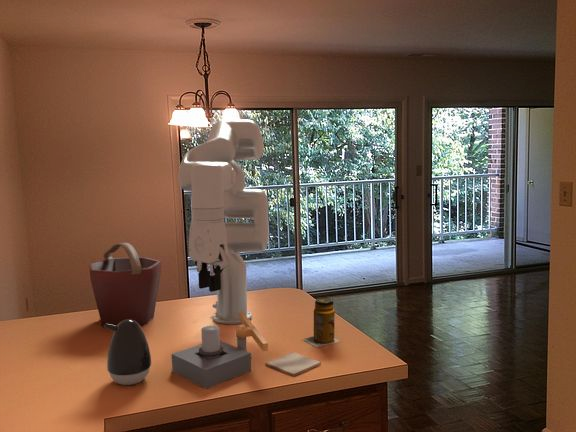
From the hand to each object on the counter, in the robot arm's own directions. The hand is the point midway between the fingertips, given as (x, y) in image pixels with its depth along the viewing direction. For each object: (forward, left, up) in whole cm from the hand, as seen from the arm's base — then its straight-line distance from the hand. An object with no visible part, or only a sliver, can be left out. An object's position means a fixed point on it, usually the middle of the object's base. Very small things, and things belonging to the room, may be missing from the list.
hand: (209, 288), depth 130 cm
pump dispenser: (-10, -17, -22) cm, 29 cm away
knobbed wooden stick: (0, +11, -15) cm, 19 cm away
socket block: (0, +3, -21) cm, 21 cm away
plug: (0, 0, -21) cm, 21 cm away
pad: (+12, +17, -21) cm, 30 cm away
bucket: (-52, +6, -22) cm, 57 cm away
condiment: (+6, +35, -22) cm, 42 cm away
